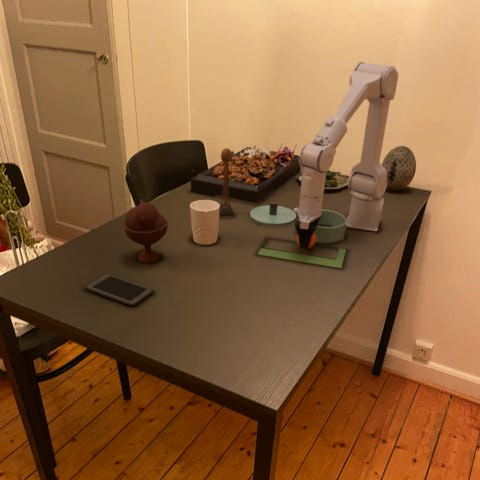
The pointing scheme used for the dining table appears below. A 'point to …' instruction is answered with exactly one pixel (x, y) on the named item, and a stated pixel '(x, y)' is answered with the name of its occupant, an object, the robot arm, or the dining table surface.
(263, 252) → the green flat l-shaped piece
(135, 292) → the cell phone
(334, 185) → the salad plate
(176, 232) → the dining table surface
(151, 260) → the ice cream bowl
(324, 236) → the pot
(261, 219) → the lid
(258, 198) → the food platter
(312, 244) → the orange
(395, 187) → the decorative egg
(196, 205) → the white cup
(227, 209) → the wooden tabletop sculpture
